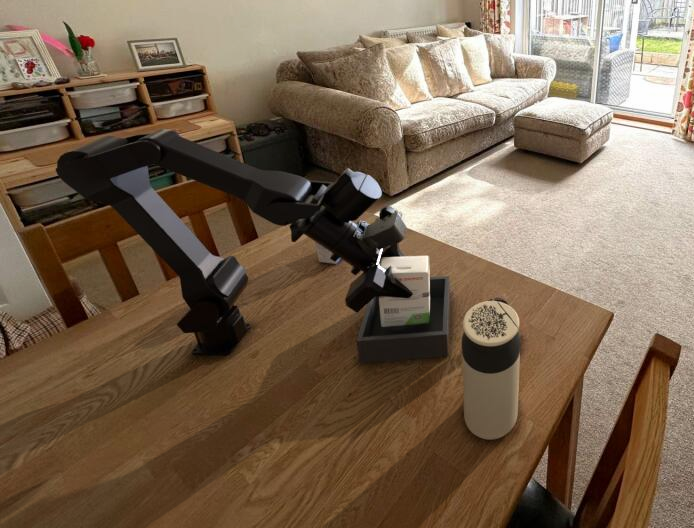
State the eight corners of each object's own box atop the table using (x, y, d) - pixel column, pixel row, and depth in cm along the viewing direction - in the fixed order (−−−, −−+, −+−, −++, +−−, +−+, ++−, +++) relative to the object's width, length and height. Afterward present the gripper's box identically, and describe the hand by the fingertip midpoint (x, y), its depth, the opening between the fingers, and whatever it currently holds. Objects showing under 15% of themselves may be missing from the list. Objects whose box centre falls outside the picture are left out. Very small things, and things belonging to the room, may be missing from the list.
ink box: (430, 304, 77) (430, 253, 73) (429, 324, 72) (429, 272, 68) (383, 307, 75) (380, 255, 71) (380, 328, 71) (376, 274, 67)
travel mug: (474, 450, 55) (472, 354, 49) (457, 399, 62) (453, 308, 55) (526, 427, 58) (531, 333, 52) (505, 381, 65) (507, 292, 58)
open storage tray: (359, 363, 67) (356, 341, 65) (376, 300, 81) (374, 280, 79) (448, 356, 69) (447, 334, 67) (450, 295, 82) (449, 275, 81)
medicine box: (335, 265, 90) (330, 232, 87) (318, 262, 91) (312, 229, 88) (355, 244, 97) (350, 213, 94) (338, 242, 98) (333, 211, 95)
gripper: (359, 238, 56) (441, 295, 61) (383, 178, 73) (446, 227, 79) (308, 286, 58) (392, 338, 63) (343, 216, 75) (407, 262, 81)
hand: (412, 285), depth 71 cm, fingers closed on ink box, 5 cm apart
